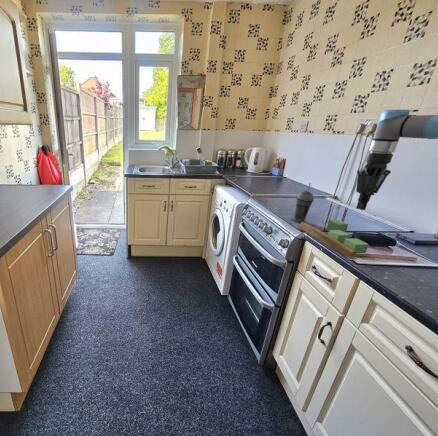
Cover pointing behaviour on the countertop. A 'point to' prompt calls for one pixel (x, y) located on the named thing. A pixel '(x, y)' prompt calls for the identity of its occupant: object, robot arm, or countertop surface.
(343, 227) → the block
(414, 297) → the countertop surface
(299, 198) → the beverage cup
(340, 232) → the block middle
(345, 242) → the block
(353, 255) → the oak rail
